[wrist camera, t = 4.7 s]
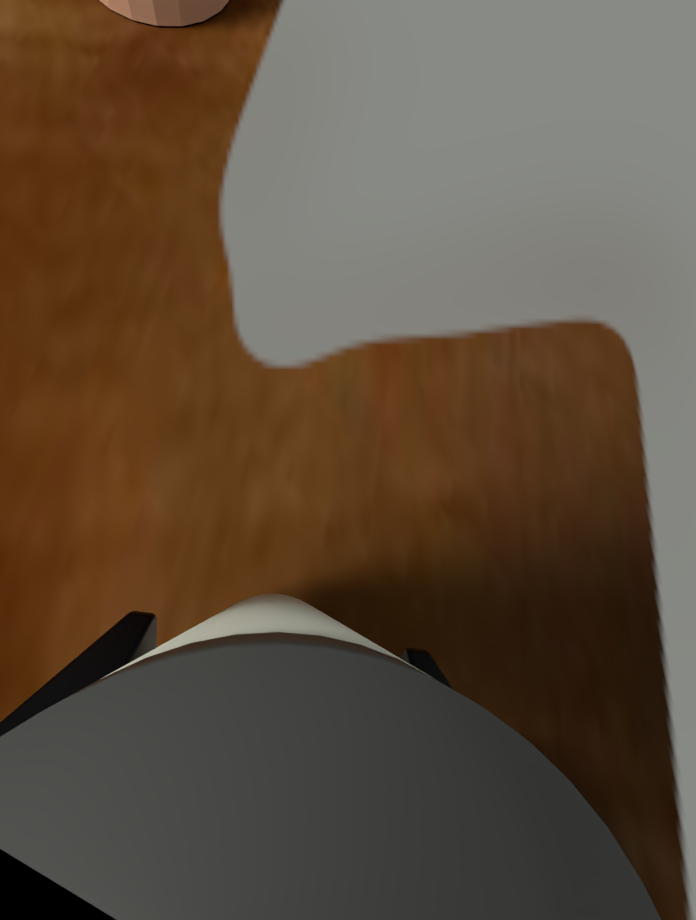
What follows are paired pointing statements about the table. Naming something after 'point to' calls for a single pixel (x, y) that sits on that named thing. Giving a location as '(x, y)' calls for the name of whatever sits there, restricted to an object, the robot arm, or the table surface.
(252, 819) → the peg
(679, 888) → the table surface
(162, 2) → the pepper shaker
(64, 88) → the table surface
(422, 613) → the table surface
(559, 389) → the table surface
